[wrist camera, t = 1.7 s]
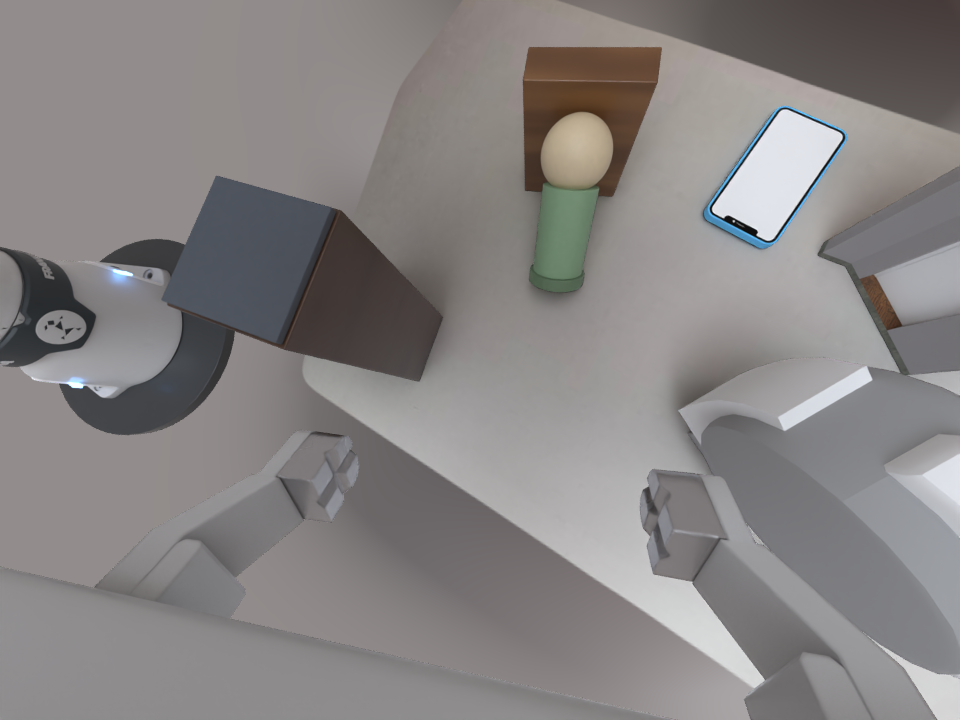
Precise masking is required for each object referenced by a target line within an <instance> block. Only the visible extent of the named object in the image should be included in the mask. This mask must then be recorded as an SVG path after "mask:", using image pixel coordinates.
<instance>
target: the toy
mask: <svg viewBox="0 0 960 720" xmlns="http://www.w3.org/2000/svg"><path fill="white" fill-rule="evenodd" d="M612 155H613V139H612V135H611V132H610V130H609V128H608V126H607V125H606V123H605V122H604V121H603V120H602V119H601V118H599V117H598V116H596V115H594V114H592V113H588V112H576V113H572V114H569V115H567V116H565V117H563V118H562V119H560V120H559V121H558V122H557V123H556V124H555V125H554V126H553V127H552V128H551V129H550V131H549V132H548V134H547V136H546V138H545V140H544V143H543V146H542V150H541V166H542V170H543V173H544V176H545V177H546V179H547V181H548V182H546V183H544V184H543V189H542V198H541V206H540V215H539V223H538V231H537V240H536V248H535V256H534V264H533V265H532V266H531V267H530V274H529V281H530V282H531V284H533V285H534V286H536V287H537V288H540V289H543V290H546V291H552V292H571V291H575V290H577V289H579V288H580V287H581V286H582V283H583V279H584V271H583V270H582V269H583V264H584V259H585V254H586V250H587V245H588V240H589V235H590V231H591V226H592V221H593V216H594V211H595V207H596V202H597V197H598V192H599V187H598V186H596V185H595V184H597V183H598V182H599V181H600V180H601V178H602V177H603V176H604V175H605V173H606V171H607V170H608V168H609V165H610V163H611V159H612Z"/></svg>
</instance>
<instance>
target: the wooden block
mask: <svg viewBox="0 0 960 720" xmlns="http://www.w3.org/2000/svg"><path fill="white" fill-rule="evenodd" d="M661 51H662V48H661V47H529V49H528V54H527V60H526V65H525V71H524V77H523V107H524V155H525V190H526V191H539V192H542V189H543V184H544V183H546V182H548V181H547V179H546V177H545V176H544V173H543V170H542V166H541V150H542V146H543V143H544V140H545V138H546V136H547V134H548V132H549V131H550V129H551V128H552V127H553V126H554V125H555V124H556V123H557V122H558V121H559V120H560V119H562V118H563V117H565V116H567V115H569V114H572V113H576V112H588V113H592V114H594V115H596V116H598V117H599V118H601V119H602V120H603V121H604V122H605V123H606V125H607V126H608V128H609V130H610V132H611V135H612V139H613V155H612V159H611V163H610V165H609V168H608V170H607V171H606V173H605V175H604V176H603V177H602V178H601V180H600V181H599V182H598V183H597V184H595V185H596V186H598V187H599V192H598V196H613V195H614V192H615V190H616V187H617V184H618V182H619V179H620V177H621V174H622V172H623V169H624V167H625V164H626V162H627V159H628V156H629V154H630V151H631V149H632V146H633V144H634V141H635V139H636V136H637V134H638V131H639V128H640V126H641V123H642V121H643V118H644V116H645V113H646V111H647V108H648V106H649V103H650V100H651V98H652V95H653V93H654V90H655V88H656V85H657V83H658V75H659V67H660V59H661Z"/></svg>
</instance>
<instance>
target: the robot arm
mask: <svg viewBox="0 0 960 720" xmlns="http://www.w3.org/2000/svg"><path fill="white" fill-rule="evenodd" d="M170 279H171V277H170V274H169V272H168V271H166V270H163V269H159V268H151V267H142V266H132V265H122V264H113V263H103V262H93V261H80V262H76V261H49V260H46V259H42V258H39V257H37V256H35V255H32V254H29V253H25V252H22V251H16V250H11V249H7V248H2V247H0V366H9V367H20V368H21V369H22V371H23V372H24V373H25V374H27V375H29V376H31V378H32V379H33V380H36V381H41V382H51V383H61V384H69V385H70V386H72V387H73V388H82V387H83V386H88V387H89V388H90V389H91V390H93V391H94V392H95V393H96V394H98V395H99V396H100V397H102V398H111V399H112V398H115V397H117V396H119V395H120V394H121V393H123V392H124V391H125V390H126V389H127V388H129V387H131V386H134V385H137V384H141V383H143V382H146V381H148V380H150V379H152V378H153V377H155V376H156V375H157V374H159V373H160V372H161V371H162V370H163V369H164V368H165V367H166V366H167V365H168V363H169V362H170V361H171V359H172V357H173V356H174V354H175V352H176V350H177V348H178V345H179V342H180V338H181V334H182V314H181V311H180V310H177V309H174V308H172V307H169V306H167V302H164V301H162V300H161V299H162V297H163V294H164V292H165V290H166V288H167V285H168V283H169V281H170ZM352 445H353V443H352V441H351V439H350V437H349V436H343V435H337V434H330V433H322V432H315V431H306V430H298V431H296V432H294V433H293V434H292V435H291V436H290V437H289V439H288V440H287V441H286V442H285V443H284V445H283V446H282V447H281V448H280V449H279V450H278V452H277V453H276V454H275V455H274V456H273V457H272V458H271V459H270V461H269V462H268V463H267V464H266V465H265V466H264V468H263V469H262V470H261V471H260V472H259V473H258V474H252V475H250V476H248V477H246V478H245V479H243V480H241V481H239V482H237V483H235V484H234V485H232V486H230V487H228V488H227V489H225V490H223V491H221V492H219V493H218V494H216V495H214V496H212V497H210V498H208V499H207V500H205V501H203V502H201V503H199V504H198V505H196V506H194V507H192V508H190V509H188V510H187V511H185V512H183V513H181V514H179V515H178V516H176V517H174V518H172V519H170V520H169V521H167V522H165V523H163V524H162V525H160V526H158V527H156V528H154V529H152V530H151V531H150V532H149V533H148V534H147V535H146V536H145V537H144V538H143V539H142V540H141V541H140V542H139V543H138V544H137V545H136V546H135V547H134V548H133V549H132V550H131V551H130V552H129V553H128V554H127V555H126V556H125V557H124V558H123V559H122V560H121V561H120V562H119V563H118V564H117V565H116V566H115V567H114V568H113V569H112V570H111V571H110V572H109V573H108V574H107V575H106V576H105V577H104V578H103V579H102V580H101V581H100V582H99V583H98V584H97V585H96V586H95V587H94V588H93V587H88V586H84V585H80V584H75V583H71V582H66V581H62V580H58V579H53V578H48V577H44V576H40V575H35V574H31V573H27V572H22V571H17V570H13V569H9V568H4V567H0V720H676V719H671V718H667V717H663V716H658V715H654V714H650V713H645V712H641V711H636V710H632V709H627V708H623V707H619V706H614V705H610V704H605V703H601V702H597V701H592V700H588V699H583V698H579V697H574V696H570V695H565V694H561V693H556V692H552V691H548V690H544V689H539V688H535V687H530V686H526V685H521V684H517V683H513V682H508V681H504V680H499V679H495V678H490V677H486V676H481V675H477V674H472V673H468V672H464V671H459V670H455V669H451V668H446V667H442V666H437V665H433V664H429V663H424V662H420V661H415V660H411V659H406V658H402V657H398V656H393V655H389V654H384V653H380V652H375V651H371V650H366V649H362V648H358V647H354V646H349V645H345V644H340V643H336V642H331V641H327V640H323V639H318V638H314V637H309V636H305V635H300V634H296V633H292V632H287V631H283V630H278V629H273V628H270V627H265V626H260V625H256V624H251V623H247V622H243V621H239V620H234V619H230V618H231V616H232V615H233V613H234V612H235V610H236V609H237V607H238V606H239V604H240V602H241V601H242V599H243V598H244V596H245V588H244V587H243V586H242V585H241V584H240V583H239V582H238V581H237V580H236V578H235V577H236V576H238V575H239V574H240V573H241V572H242V571H244V570H245V569H246V568H247V567H249V566H250V565H251V564H252V563H253V562H255V561H256V560H257V559H258V558H259V557H261V556H262V555H263V554H264V553H266V552H267V551H268V550H269V549H270V548H272V547H273V546H274V545H275V544H276V543H278V542H279V541H280V540H281V539H283V538H284V537H285V536H286V535H287V534H288V533H290V532H291V531H292V530H293V529H295V528H296V527H297V526H298V525H300V524H301V523H302V522H303V521H304V520H303V519H307V520H315V521H323V522H330V523H332V521H333V520H334V518H335V516H336V514H337V512H338V511H339V509H340V507H341V506H342V504H343V502H344V498H343V493H344V492H346V491H347V490H349V489H350V488H352V486H353V484H354V482H355V480H356V479H357V475H358V471H359V460H358V457H357V455H356V454H355V453H354V452H353V451H352V450H350V448H351V447H352ZM647 480H648V484H649V487H647V488H645V489H644V490H643V492H642V495H641V499H640V515H641V522H642V526H643V529H644V530H645V531H646V532H647V533H648V534H649V535H650V539H649V541H648V544H647V549H648V554H649V558H650V563H651V567H652V571H653V574H654V575H660V576H665V577H670V578H676V579H681V580H686V581H692V582H693V583H692V584H693V585H694V587H695V588H696V589H697V591H698V592H699V593H700V594H701V596H702V597H703V598H704V600H705V601H706V602H707V604H708V605H709V606H710V608H711V609H712V610H713V612H714V613H715V614H716V616H717V617H718V618H719V620H720V621H721V622H722V624H723V625H724V626H725V627H726V629H727V630H728V631H729V633H730V634H731V635H732V637H733V638H734V639H735V641H736V642H737V643H738V645H739V646H740V647H741V649H742V650H743V651H744V653H745V654H746V655H747V657H748V658H749V659H750V660H751V662H752V663H753V664H754V666H755V667H756V668H757V670H758V671H759V672H760V674H761V675H762V676H763V678H764V679H765V681H764V682H762V683H761V684H760V685H759V686H757V687H756V688H755V689H753V690H752V691H751V692H750V693H748V695H747V696H746V698H745V699H744V701H745V704H746V707H747V710H748V713H749V716H750V719H751V720H937V719H936V717H935V715H934V714H933V712H932V711H931V709H930V708H929V706H928V705H927V703H926V701H925V700H924V698H923V697H922V695H921V694H920V692H919V691H918V689H917V687H916V686H915V684H914V683H913V681H912V680H911V678H910V677H909V675H908V674H907V672H906V670H905V669H904V668H903V667H902V666H901V665H900V664H899V663H897V662H896V661H895V660H894V659H893V658H892V657H891V656H889V655H888V654H887V653H886V652H885V651H884V650H883V649H882V648H880V647H879V646H878V645H877V644H876V643H875V642H874V641H872V640H871V639H870V638H869V637H868V636H867V635H866V634H864V633H863V632H862V631H861V630H860V629H859V628H858V627H856V626H855V625H854V624H853V623H852V622H851V621H850V620H849V619H847V618H846V617H845V616H844V615H843V614H842V613H841V612H839V611H838V610H837V609H836V608H835V607H834V606H833V605H831V604H830V603H829V602H828V601H827V600H826V599H825V598H823V597H822V596H821V595H820V594H819V593H818V592H817V591H815V590H814V589H813V588H812V587H811V586H810V585H809V584H808V583H806V582H805V581H804V580H803V579H802V578H801V577H800V576H798V575H797V574H796V573H795V572H794V571H793V570H792V569H790V568H789V567H788V566H787V565H786V564H785V563H784V562H782V561H781V560H780V559H779V558H778V557H777V556H776V555H774V554H773V553H772V552H771V551H770V550H769V549H768V548H767V547H765V546H764V545H759V544H756V542H755V540H754V538H753V536H752V534H751V532H750V530H749V528H748V526H747V524H746V522H745V520H744V518H743V516H742V514H741V512H740V510H739V508H738V506H737V504H736V502H735V500H734V498H733V496H732V494H731V492H730V489H729V487H728V485H727V483H726V481H725V480H724V479H723V478H722V477H721V476H712V475H703V474H695V473H687V472H677V471H666V470H656V469H652V470H651V471H650V472H649V475H648V477H647Z"/></svg>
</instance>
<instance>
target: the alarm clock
mask: <svg viewBox="0 0 960 720" xmlns="http://www.w3.org/2000/svg"><path fill="white" fill-rule="evenodd" d="M679 412H680V414H681V415H682V417H683V418H684V420H685V422H686V423H687V425H688V426H689V428H690V430H691V431H690V432H689V433H688V435H689V436H690V438H691V439H692V440H693V442H694V443H695V445H696V446H697V447H698V449H699V450H700V452H701V453H702V454H703V456H704V457H705V459H706V462H707V464H708V466H709V467H710V469H711V471H712V473H713V475H714V476H721V477H722V478H723V479H724V480H725V481H726V483H727V485H728V487H729V489H730V492H731V494H732V496H733V498H734V500H735V502H736V504H737V506H738V508H739V510H740V512H741V514H742V516H743V518H744V520H745V522H746V523H747V524H748V525H749V526H750V528H751V529H752V530H753V531H754V532H755V533H756V535H757V536H758V537H759V538H760V539H761V540H762V542H763V543H764V544H765V545H766V546H767V547H768V548H769V549H770V550H771V551H772V552H773V553H774V554H775V555H776V556H777V557H778V558H779V559H780V560H781V561H782V562H784V563H785V564H786V565H787V566H788V567H789V568H790V569H792V570H793V571H794V572H795V573H796V574H797V575H798V576H800V577H801V578H802V579H803V580H804V581H805V582H806V583H808V584H809V585H810V586H811V587H812V588H813V589H814V590H815V591H817V592H818V593H819V594H820V595H821V596H822V597H823V598H825V599H826V600H827V601H828V602H829V603H830V604H831V605H833V606H834V607H835V608H836V609H837V610H838V611H839V612H841V613H842V614H843V615H844V616H845V617H846V618H847V619H849V620H850V621H851V622H852V623H853V624H854V625H855V626H856V627H858V628H859V629H860V630H861V631H862V632H864V633H865V634H866V635H868V636H869V637H871V638H872V639H873V640H875V641H876V642H877V643H879V644H880V645H882V646H884V647H885V648H887V649H889V650H890V651H892V652H894V653H895V654H897V655H899V656H900V657H902V658H903V659H905V660H907V661H908V662H910V663H912V664H915V665H917V666H920V667H922V668H925V669H927V670H930V671H932V672H935V673H937V674H948V675H951V676H953V677H956V678H958V679H960V396H959V395H957V394H955V393H953V392H951V391H949V390H946V389H944V388H942V387H939V386H936V385H933V384H930V383H927V382H924V381H921V380H918V379H915V378H913V377H910V376H907V375H904V374H901V373H898V372H895V371H889V370H884V369H879V368H873V367H868V366H866V365H861V364H856V363H851V362H846V361H841V360H835V359H830V358H825V357H819V358H790V359H786V360H782V361H777V362H773V363H769V364H766V365H763V366H760V367H757V368H754V369H751V370H748V371H746V372H744V373H742V374H740V375H738V376H736V377H734V378H732V379H731V380H729V381H727V382H725V383H724V384H722V385H720V386H719V387H717V388H715V389H714V390H712V391H710V392H709V393H707V394H705V395H704V396H702V397H700V398H699V399H697V400H695V401H694V402H692V403H690V404H688V405H687V406H685V407H683V408H682V409H680V410H679Z"/></svg>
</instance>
